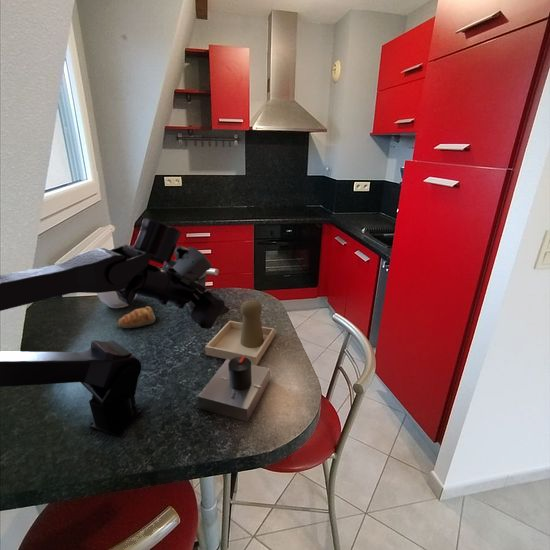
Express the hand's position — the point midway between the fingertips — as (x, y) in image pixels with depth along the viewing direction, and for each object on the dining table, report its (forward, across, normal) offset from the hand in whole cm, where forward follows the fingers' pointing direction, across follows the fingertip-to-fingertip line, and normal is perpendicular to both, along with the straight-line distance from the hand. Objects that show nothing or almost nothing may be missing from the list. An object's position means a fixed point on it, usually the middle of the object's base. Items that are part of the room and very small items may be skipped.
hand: (216, 299), depth 71 cm
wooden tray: (+13, -3, +8) cm, 16 cm away
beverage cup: (+17, +20, +12) cm, 28 cm away
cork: (+15, -4, +7) cm, 17 cm away
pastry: (+5, +25, +21) cm, 33 cm away
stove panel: (+2, -16, +13) cm, 20 cm away
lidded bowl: (+7, +41, +23) cm, 47 cm away
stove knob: (+1, -16, +10) cm, 19 cm away
